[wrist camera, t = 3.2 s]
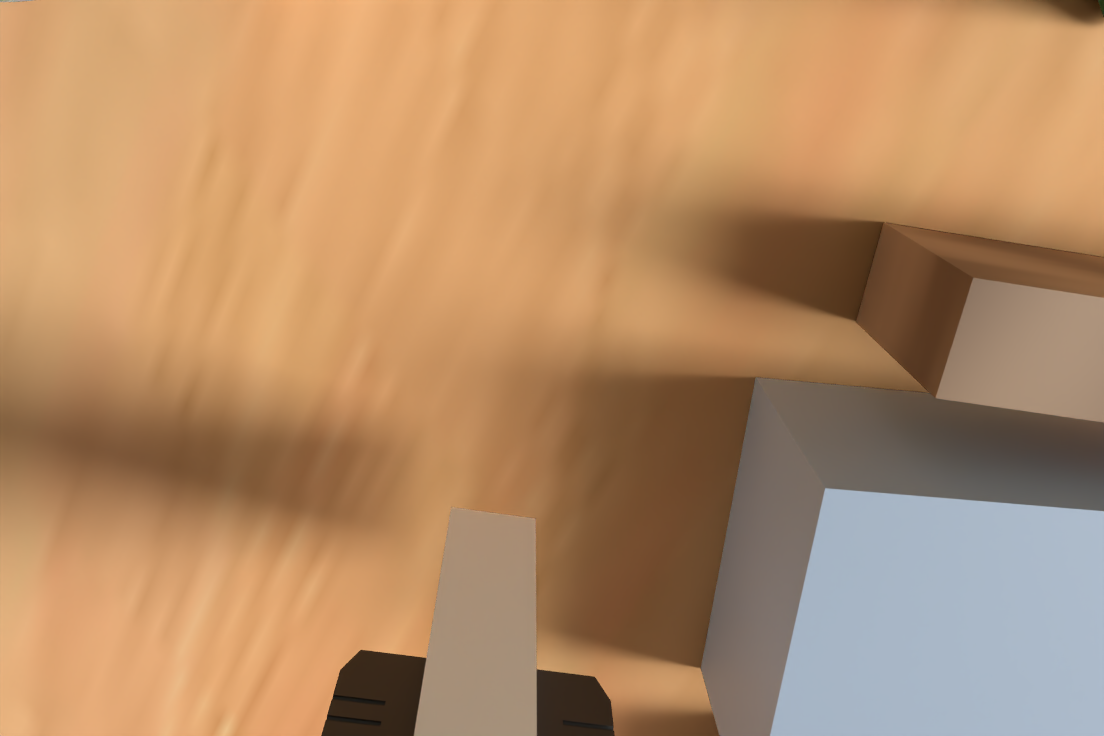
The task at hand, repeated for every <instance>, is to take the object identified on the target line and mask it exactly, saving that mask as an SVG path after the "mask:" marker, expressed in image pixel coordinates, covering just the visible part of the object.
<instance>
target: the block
mask: <svg viewBox="0 0 1104 736" xmlns="http://www.w3.org/2000/svg"><path fill="white" fill-rule="evenodd" d="M701 671H702V675H703V678H704V682H705V685H706V689H707V693H708V696H709V700H710V704H711V707H712V711H713V715H714V718H715V722H716V726H717V729H718V733H719V736H1104V422H1098V421H1091V420H1084V419H1077V418H1070V417H1063V416H1056V415H1049V414H1042V413H1035V412H1028V411H1021V410H1014V409H1007V408H1000V407H993V406H986V405H979V404H972V403H965V402H958V401H951V400H944V399H937V398H935V397H934V396H933V395H932V394H930V393H925V392H914V391H903V390H892V389H880V388H869V387H858V386H847V385H836V384H825V383H814V382H803V381H791V380H780V379H769V378H758V377H756V378H755V383H754V388H753V394H752V399H751V404H750V410H749V415H748V420H747V426H746V431H745V436H744V441H743V447H742V452H741V457H740V463H739V468H738V473H737V479H736V484H735V489H734V495H733V500H732V505H731V510H730V516H729V521H728V526H727V532H726V537H725V542H724V548H723V553H722V558H721V564H720V569H719V574H718V579H717V585H716V590H715V595H714V601H713V606H712V611H711V617H710V622H709V627H708V632H707V638H706V643H705V648H704V654H703V659H702V664H701Z"/></svg>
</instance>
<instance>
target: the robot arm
mask: <svg viewBox="0 0 1104 736" xmlns="http://www.w3.org/2000/svg"><path fill="white" fill-rule="evenodd" d="M321 736H614V731H613V718H612V709H611V701H610V699H609V698H608V696H607V695H606V693H605V692H604V690H603V689H602V687H601V686H600V684H599V683H598V681H597V680H596V678H595V677H592V676H584V675H576V674H568V673H560V672H552V671H544V670H537V668H536V518H528V517H521V516H514V515H506V514H499V513H491V512H484V511H477V510H469V509H462V508H455V507H451V512H450V518H449V524H448V530H447V536H446V542H445V549H444V555H443V561H442V567H441V573H440V579H439V585H438V591H437V597H436V603H435V609H434V616H433V622H432V628H431V634H430V640H429V646H428V652H427V658H422V657H414V656H406V655H398V654H390V653H382V652H374V651H366V650H360V651H359V652H358V653H357V654H356V655H355V656H354V657H353V658H352V659H351V660H350V661H349V662H348V663H347V664H346V665H345V666H344V667H343V668H342V669H341V670H340V673H339V677H338V680H337V684H336V687H335V691H334V694H333V699H332V701H331V704H330V708H329V711H328V715H327V720H326V722H325V725H324V728H323V732H322V735H321Z"/></svg>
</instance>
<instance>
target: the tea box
mask: <svg viewBox="0 0 1104 736" xmlns="http://www.w3.org/2000/svg"><path fill="white" fill-rule="evenodd" d="M20 1H32V0H0V2H20Z"/></svg>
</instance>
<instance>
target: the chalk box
mask: <svg viewBox="0 0 1104 736" xmlns="http://www.w3.org/2000/svg"><path fill="white" fill-rule="evenodd" d="M1098 3H1099V5H1100V8H1101V11H1102V14H1103V17H1104V0H1098Z"/></svg>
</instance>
